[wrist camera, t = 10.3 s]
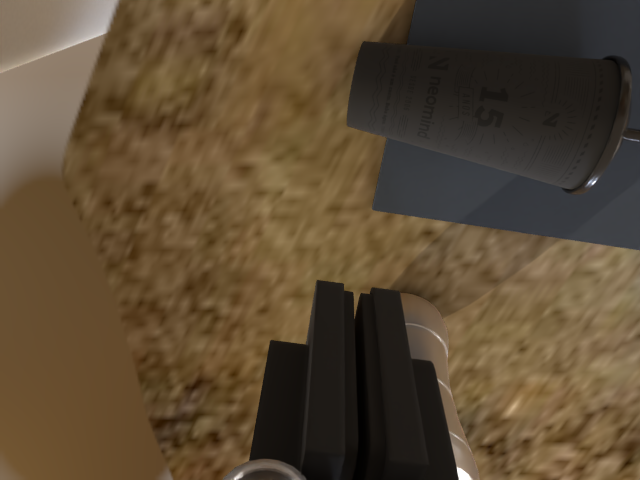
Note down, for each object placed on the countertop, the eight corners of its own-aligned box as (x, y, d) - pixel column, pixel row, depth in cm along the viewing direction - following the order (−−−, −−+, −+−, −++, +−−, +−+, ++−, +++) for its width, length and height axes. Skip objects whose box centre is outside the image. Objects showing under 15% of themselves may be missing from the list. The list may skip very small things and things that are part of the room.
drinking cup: (373, 8, 32) (717, 65, 30) (353, 129, 36) (656, 187, 34) (358, 20, 25) (798, 95, 23) (335, 167, 29) (712, 243, 27)
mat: (372, 207, 37) (372, 210, 37) (444, -135, 27) (445, -135, 27) (646, 249, 37) (649, 251, 37) (818, -73, 27) (824, -73, 27)
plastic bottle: (414, 357, 44) (453, 631, 26) (343, 325, 42) (336, 590, 25) (459, 304, 41) (537, 573, 23) (385, 267, 39) (409, 524, 22)
